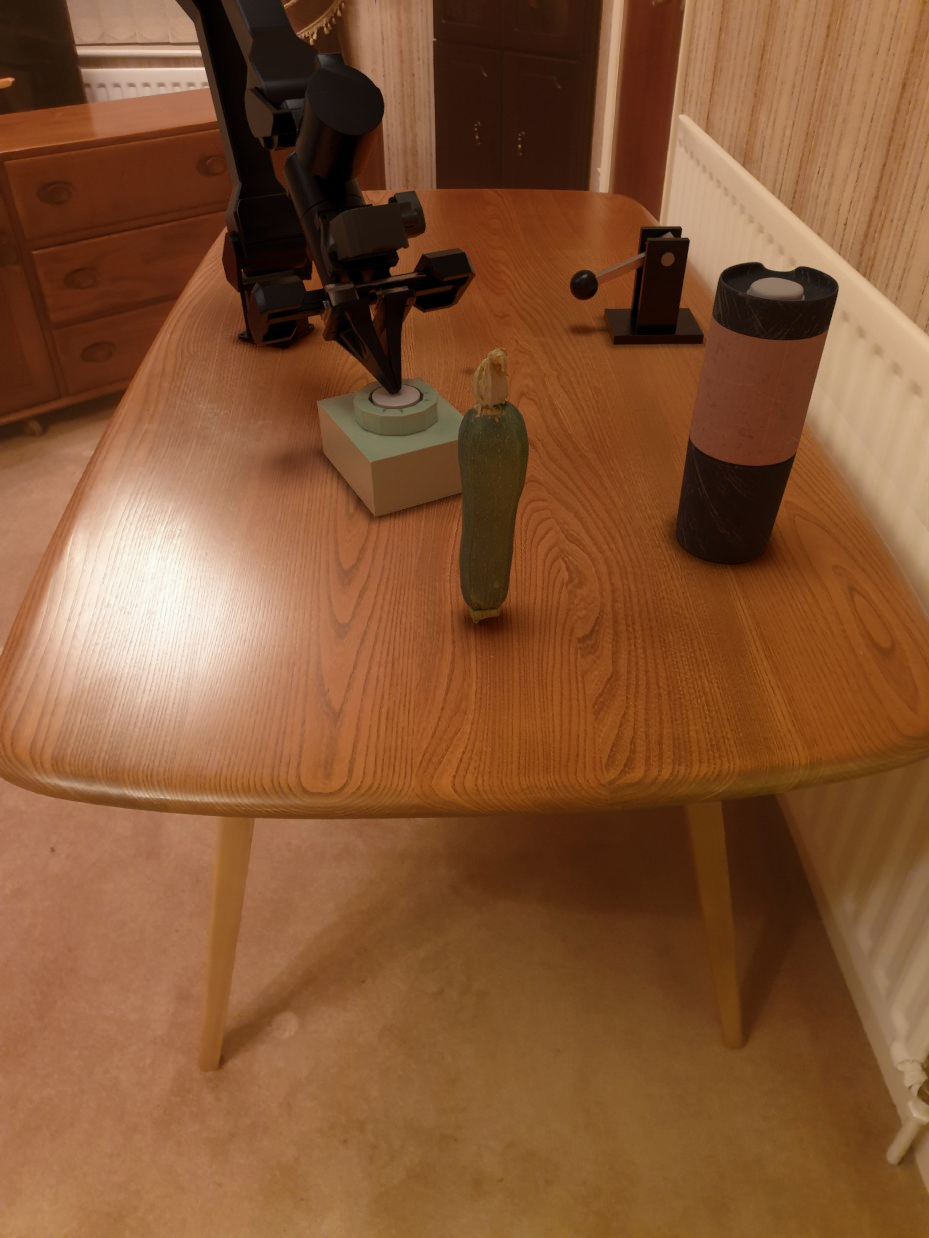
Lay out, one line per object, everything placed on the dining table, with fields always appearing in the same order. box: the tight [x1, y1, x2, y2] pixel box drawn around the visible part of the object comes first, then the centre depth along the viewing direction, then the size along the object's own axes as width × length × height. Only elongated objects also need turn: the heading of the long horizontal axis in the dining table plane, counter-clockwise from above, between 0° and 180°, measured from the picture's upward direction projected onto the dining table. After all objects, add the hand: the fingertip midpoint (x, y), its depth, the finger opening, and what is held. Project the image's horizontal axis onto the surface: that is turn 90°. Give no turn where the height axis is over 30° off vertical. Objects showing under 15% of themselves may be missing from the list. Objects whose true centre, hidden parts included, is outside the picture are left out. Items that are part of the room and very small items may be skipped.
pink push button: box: [372, 385, 420, 409], centre depth 72 cm, size 4×4×2 cm
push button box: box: [316, 377, 464, 518], centre depth 74 cm, size 12×10×7 cm
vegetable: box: [458, 347, 530, 624], centre depth 55 cm, size 4×4×20 cm
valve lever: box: [569, 232, 674, 301], centre depth 95 cm, size 12×3×3 cm, turn 91°
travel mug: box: [675, 261, 840, 564], centre depth 62 cm, size 8×8×20 cm
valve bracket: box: [603, 225, 705, 346], centre depth 96 cm, size 10×8×11 cm
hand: (396, 391), depth 72 cm, fingers closed, pressing on pink push button
